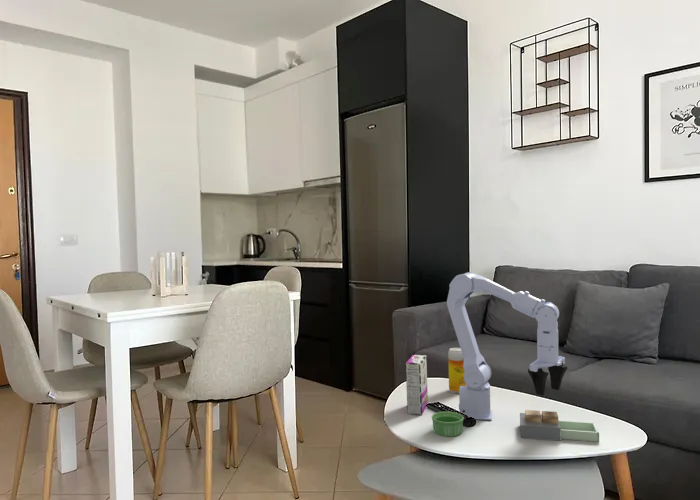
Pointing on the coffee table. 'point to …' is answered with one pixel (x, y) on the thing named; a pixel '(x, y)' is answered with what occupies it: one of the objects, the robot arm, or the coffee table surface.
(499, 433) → the coffee table surface
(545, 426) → the grey flat block
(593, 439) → the tray
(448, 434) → the ramekin
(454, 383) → the beer glass
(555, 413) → the oak tile
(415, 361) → the candy bar box
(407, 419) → the coffee table surface
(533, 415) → the oak tile
